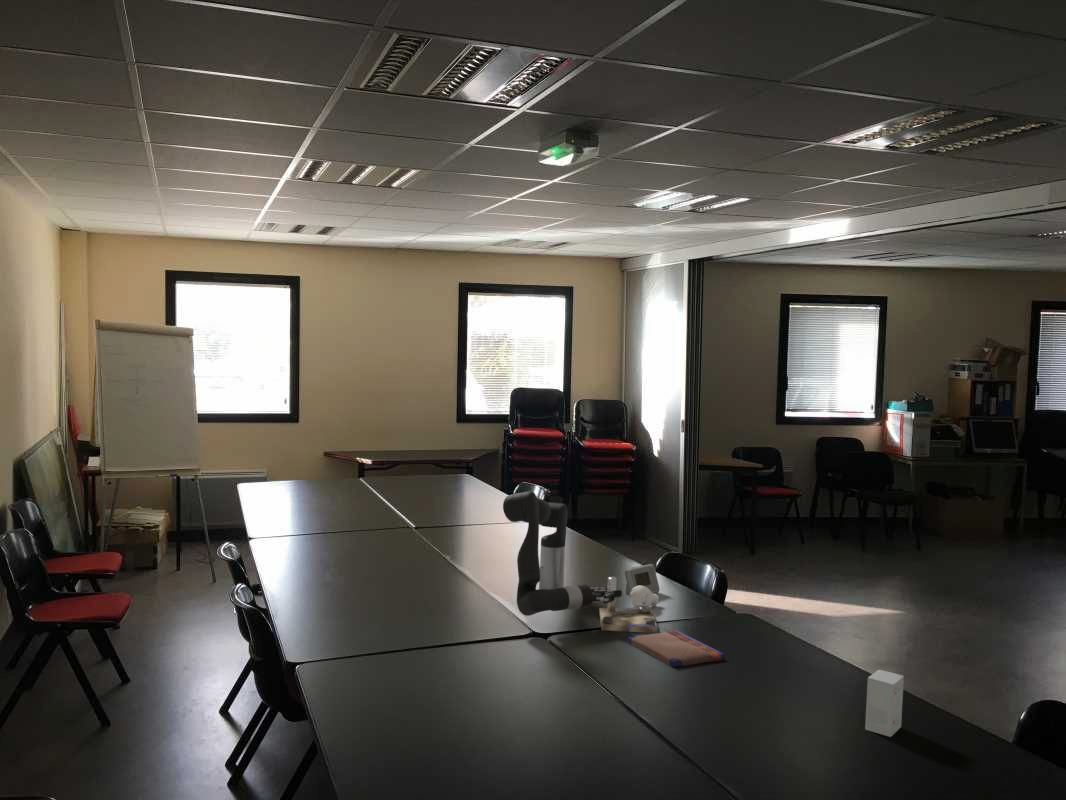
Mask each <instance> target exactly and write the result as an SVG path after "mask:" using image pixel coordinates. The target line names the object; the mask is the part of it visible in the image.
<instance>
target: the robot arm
mask: <svg viewBox="0 0 1066 800" xmlns="http://www.w3.org/2000/svg"><path fill="white" fill-rule="evenodd" d="M502 503H503V504H502V509H503V514H504V515H505V517H506V519H507V520H508V521H510V522H512V523H519V522H524V523H527V524H528V525H527V532H526V534H525V538H524V540H523V542H522V544H521V545H520V548H519V550H518V553H517V560H516V561H517V564H516V565H517V572H518V584H517V590H516V591H517V592H516V606H517V608H518V611H519V612H520V613H521V615H523V616H527V617H528V616H529V617H530V616H533V615H536V614H539V613H542V612H547V611H551V612H558V611H565V610H566V611H569V610H570V611H573V610H579V609H586V608H590V607H591V606H592V604H593V603H599V602H603V604H606V605H607V603H609V602H612V601H614V600H615V598H616V599H617V598H620V597H622V595H623V591H622V590H621V589H616V590H615V591H607V587H601V586H599V585H598V586H595V585H594V586H593V585H592V586H591V585H588V584H585V583H584V584H576V585H575V584H574V585H569V586H565V585H564V584H565V563H566V562H565V561H566V559H565V558H566V555H565V554H566V540H567V539H566V538H567V525H568V515H569V513H568V506H567V505H566V504H565V503H560V502H549V501H548V502H547V501H546V500H545V499H541V498H539V497H537V495H536V494H535V492H534V491H532V490H530V491H523V492H522V491H521V492H517V493H512V494H509V495H507V496H505V498H504V500H503V502H502ZM540 526H541V527H545V528H555V532H553V533H551V534H546V535H543V536H542V537H541V539H540V556H539V537H540V536H539V535H540ZM539 557H540V558H539ZM537 585H538V589H537ZM608 593H609V594H608Z"/></svg>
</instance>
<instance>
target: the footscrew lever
mask: <svg viewBox="0 0 1066 800" xmlns="http://www.w3.org/2000/svg"><path fill="white" fill-rule="evenodd" d="M617 579H618V578H617V577H616V576H608V577H607V587H606V588H607V591H615V590H617V583H618V582H617V581H618V580H617ZM608 594H609V593H608ZM616 605H617V597H616V598H615V600H614V601H612V602H609V603H606V608H607V610H606V611H607V612H609V614H611V615H621V614H630V613H639V612H640V613H650V612H651V610H652V606H650V605H649V606H646V604H645V605H643V604H642V605H639V606H637V607H634V606H633V607H625V608H616V607H617V606H616Z"/></svg>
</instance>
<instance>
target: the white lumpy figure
mask: <svg viewBox="0 0 1066 800" xmlns="http://www.w3.org/2000/svg"><path fill="white" fill-rule="evenodd" d="M630 595H631V597H630V600H631V604H632V606H633V607H637V606H639V605H643V604H645V606H650V605H651V606H650V607H656V606H657V605H658V603H659V601H660V598H659V596H658V595H657V593H655V594H653V593H652V592H651V591H650V590H649V589H648V588H647V587H645V586H642V585H638V586H636V587H634V588H633V589H632V592H631V593H630Z"/></svg>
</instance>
